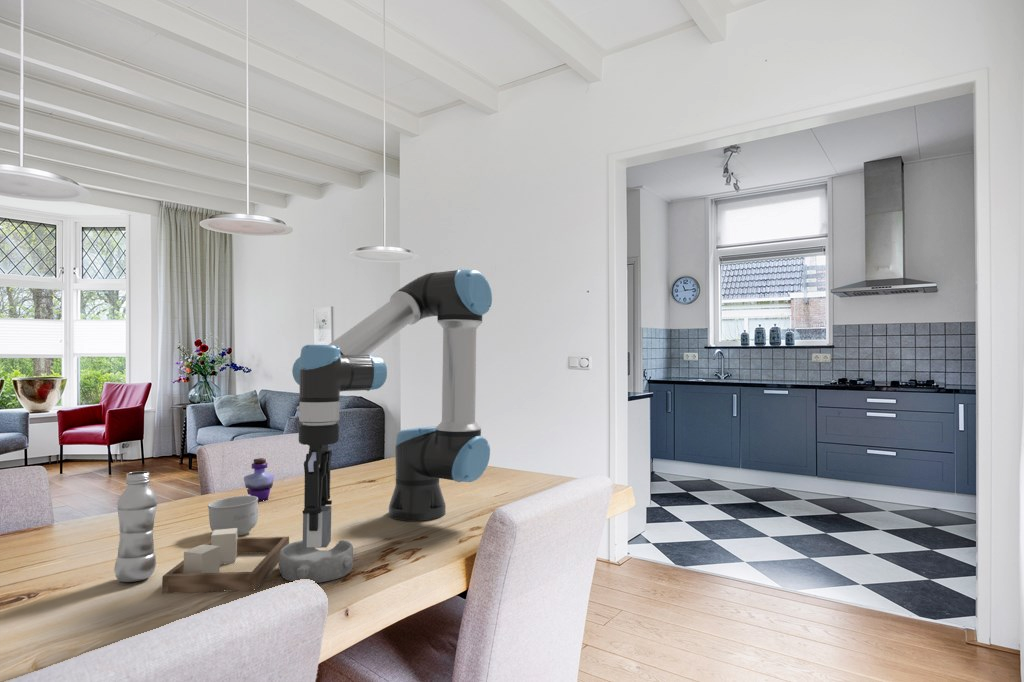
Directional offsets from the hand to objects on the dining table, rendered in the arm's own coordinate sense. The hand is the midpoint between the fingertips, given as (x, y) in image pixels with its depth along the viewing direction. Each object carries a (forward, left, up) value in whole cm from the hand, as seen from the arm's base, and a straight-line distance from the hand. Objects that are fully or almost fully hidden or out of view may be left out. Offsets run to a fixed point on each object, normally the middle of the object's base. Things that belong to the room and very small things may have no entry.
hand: (317, 542), depth 116 cm
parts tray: (+17, -3, -6) cm, 18 cm away
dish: (0, 0, -6) cm, 6 cm away
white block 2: (+20, -9, -6) cm, 23 cm away
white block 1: (+20, +2, -6) cm, 21 cm away
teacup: (+25, -29, -6) cm, 39 cm away
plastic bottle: (+33, +1, -6) cm, 34 cm away
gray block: (0, 0, 0) cm, 0 cm away
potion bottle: (+30, -61, -6) cm, 68 cm away
